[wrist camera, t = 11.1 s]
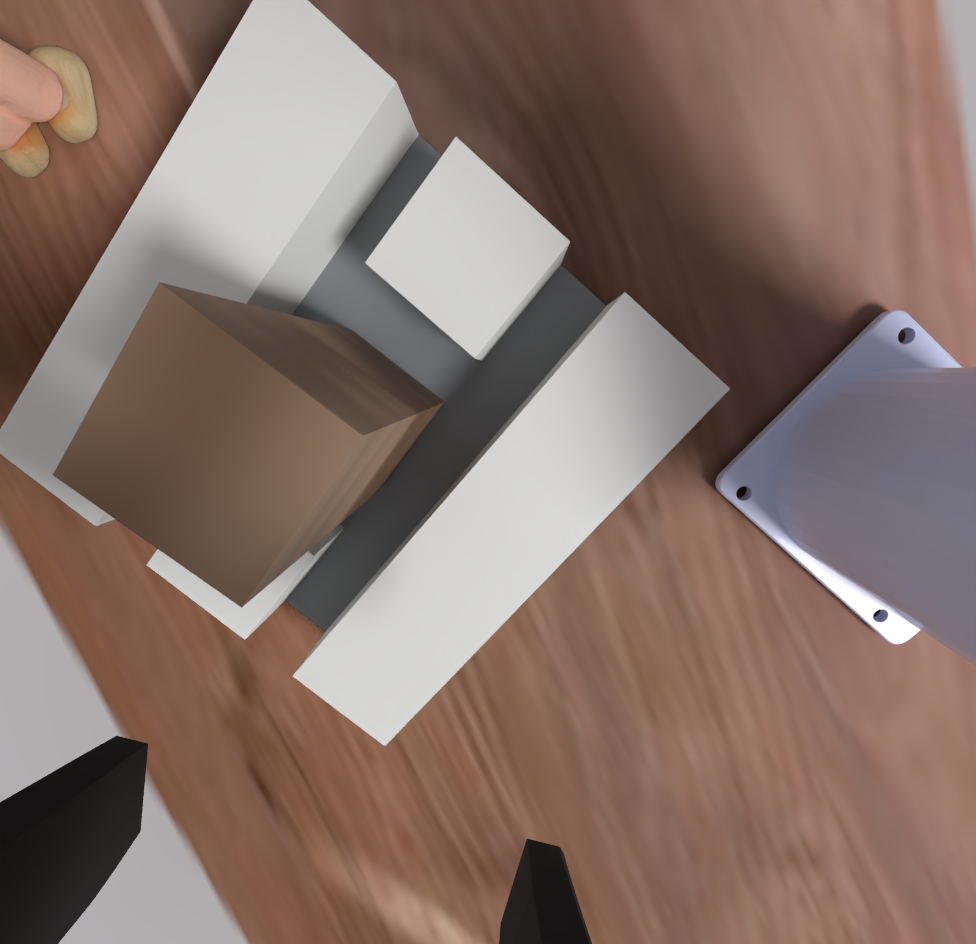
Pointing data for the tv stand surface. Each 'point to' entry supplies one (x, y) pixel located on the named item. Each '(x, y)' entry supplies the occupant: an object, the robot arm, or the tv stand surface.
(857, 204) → the tv stand surface
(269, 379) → the walnut pin
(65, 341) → the socket block
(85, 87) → the grandmother figurine
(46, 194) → the tv stand surface
